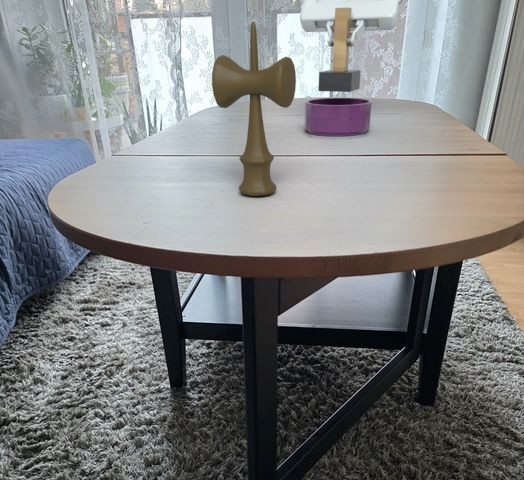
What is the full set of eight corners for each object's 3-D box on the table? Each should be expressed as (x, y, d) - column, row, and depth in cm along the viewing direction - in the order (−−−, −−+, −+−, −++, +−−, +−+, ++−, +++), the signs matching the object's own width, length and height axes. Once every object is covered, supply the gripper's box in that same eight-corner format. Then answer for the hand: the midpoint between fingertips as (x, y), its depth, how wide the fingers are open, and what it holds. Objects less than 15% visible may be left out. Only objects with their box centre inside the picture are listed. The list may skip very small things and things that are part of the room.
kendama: (235, 185, 74) (226, 23, 63) (297, 190, 71) (300, 20, 60) (216, 196, 69) (204, 22, 59) (283, 202, 66) (282, 19, 56)
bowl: (361, 125, 119) (363, 97, 115) (376, 135, 107) (379, 104, 103) (301, 127, 118) (301, 98, 115) (309, 138, 106) (310, 106, 103)
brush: (328, 88, 112) (331, 8, 104) (359, 88, 109) (365, 7, 102) (318, 91, 106) (321, 8, 99) (350, 91, 104) (356, 6, 96)
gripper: (407, -1, 105) (392, 55, 102) (313, 3, 112) (297, 56, 109) (406, -30, 99) (390, 29, 96) (307, -24, 106) (290, 32, 104)
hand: (340, 44), depth 103 cm, fingers closed on brush, 2 cm apart
